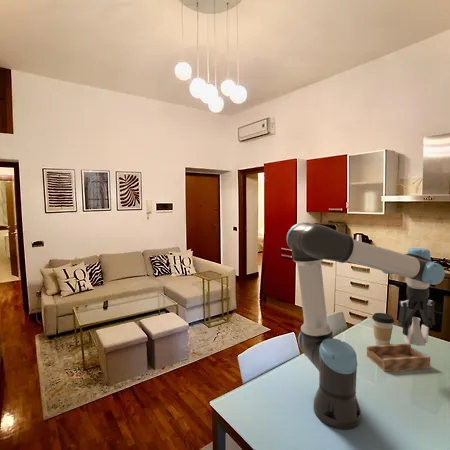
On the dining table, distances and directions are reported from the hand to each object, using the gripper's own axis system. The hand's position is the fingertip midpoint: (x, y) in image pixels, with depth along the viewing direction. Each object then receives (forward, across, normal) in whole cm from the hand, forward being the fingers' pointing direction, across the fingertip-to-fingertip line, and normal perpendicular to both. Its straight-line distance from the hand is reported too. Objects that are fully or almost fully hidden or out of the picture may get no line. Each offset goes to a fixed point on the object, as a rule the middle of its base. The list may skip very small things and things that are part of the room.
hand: (415, 341), depth 117 cm
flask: (+1, 0, 0) cm, 1 cm away
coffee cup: (+15, +5, +28) cm, 32 cm away
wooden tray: (+15, +1, +12) cm, 19 cm away
